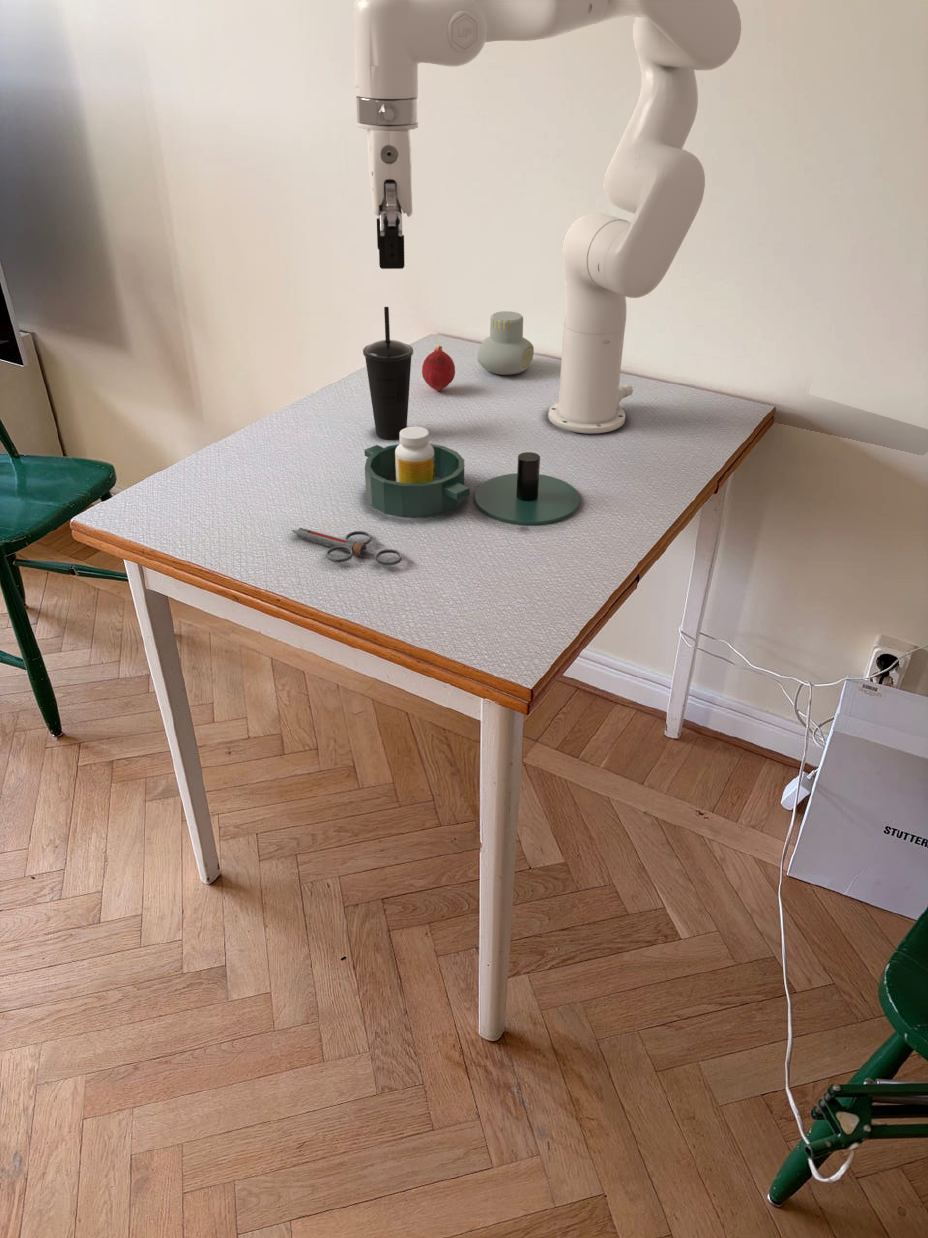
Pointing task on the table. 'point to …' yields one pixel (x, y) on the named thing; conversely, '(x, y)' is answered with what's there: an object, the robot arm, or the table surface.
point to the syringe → (344, 545)
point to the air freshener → (506, 345)
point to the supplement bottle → (414, 456)
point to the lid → (527, 495)
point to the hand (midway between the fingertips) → (390, 258)
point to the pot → (414, 484)
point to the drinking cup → (389, 383)
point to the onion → (438, 369)
